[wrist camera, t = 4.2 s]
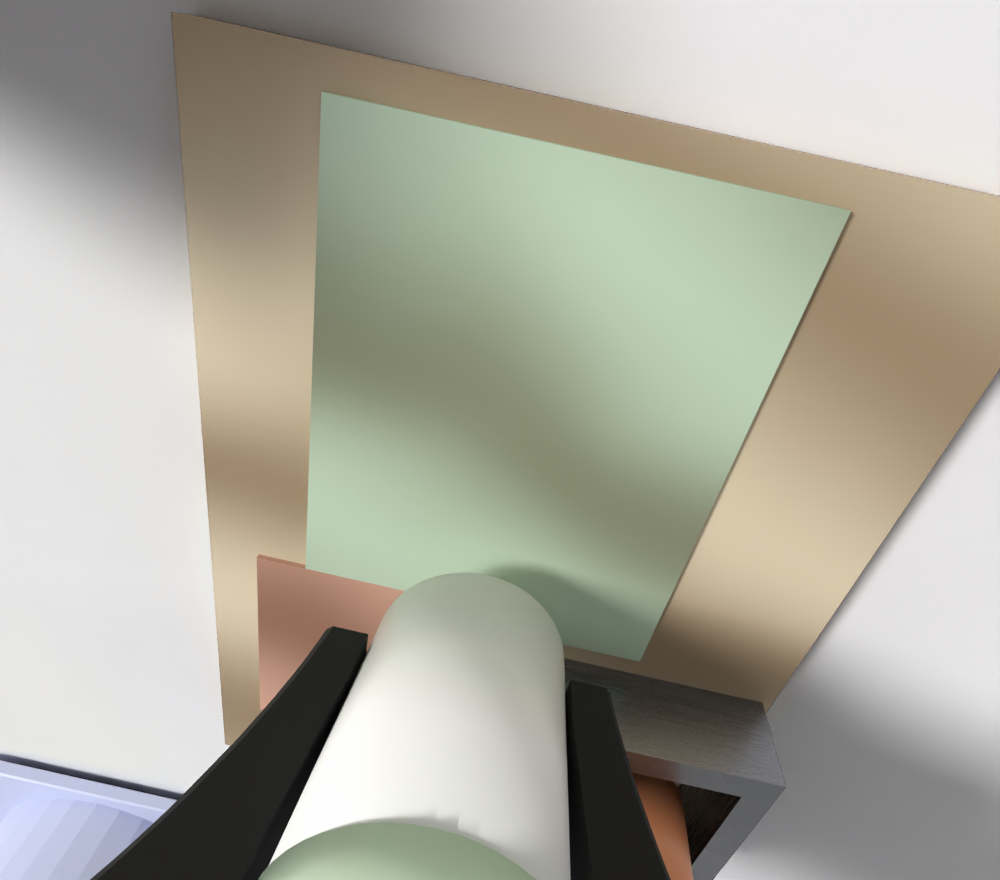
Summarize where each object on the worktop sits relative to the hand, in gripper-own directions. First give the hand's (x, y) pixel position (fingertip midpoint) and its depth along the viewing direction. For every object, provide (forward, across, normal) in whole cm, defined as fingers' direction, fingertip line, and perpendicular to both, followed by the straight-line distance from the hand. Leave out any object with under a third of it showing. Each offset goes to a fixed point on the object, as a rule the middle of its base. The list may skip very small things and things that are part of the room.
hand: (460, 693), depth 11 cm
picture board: (+3, 0, -1) cm, 3 cm away
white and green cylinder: (+1, 0, 0) cm, 1 cm away
